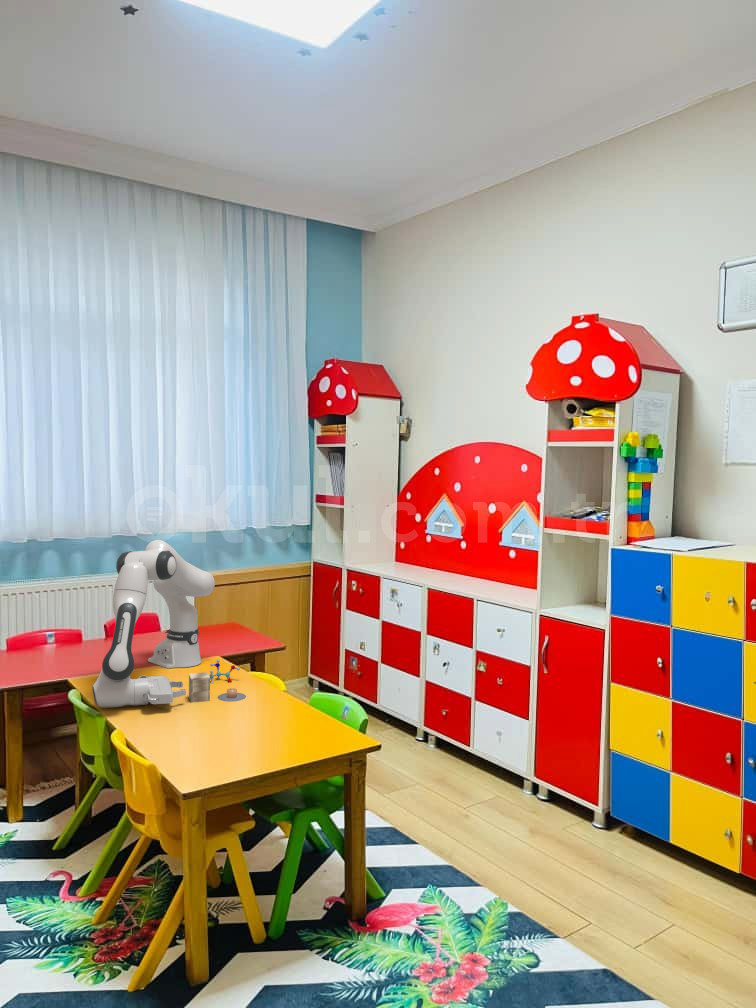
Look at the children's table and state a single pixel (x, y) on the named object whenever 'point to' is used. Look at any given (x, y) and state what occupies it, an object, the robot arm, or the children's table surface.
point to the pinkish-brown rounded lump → (231, 693)
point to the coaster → (224, 698)
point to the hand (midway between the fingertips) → (184, 688)
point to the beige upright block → (199, 687)
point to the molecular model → (220, 672)
